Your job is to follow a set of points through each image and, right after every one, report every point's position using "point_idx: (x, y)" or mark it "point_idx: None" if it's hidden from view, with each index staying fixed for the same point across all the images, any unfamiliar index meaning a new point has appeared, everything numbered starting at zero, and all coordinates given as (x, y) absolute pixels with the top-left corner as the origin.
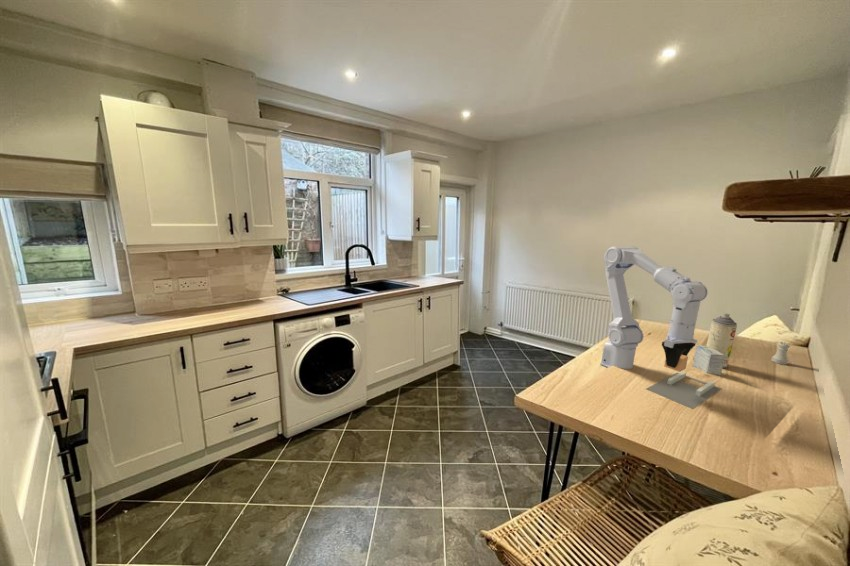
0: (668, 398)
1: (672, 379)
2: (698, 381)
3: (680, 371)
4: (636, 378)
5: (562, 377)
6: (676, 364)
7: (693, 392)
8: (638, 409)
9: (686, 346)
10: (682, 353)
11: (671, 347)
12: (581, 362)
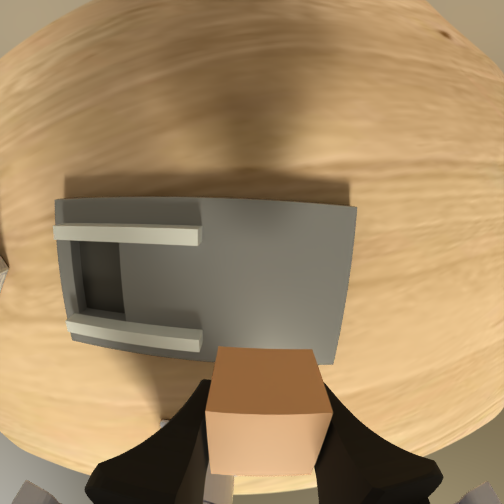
0: (345, 292)
1: (182, 340)
2: (69, 271)
3: (302, 349)
4: None
5: None
6: (333, 395)
7: (187, 252)
8: (443, 313)
9: (188, 496)
10: (202, 446)
11: (489, 483)
12: (271, 488)
